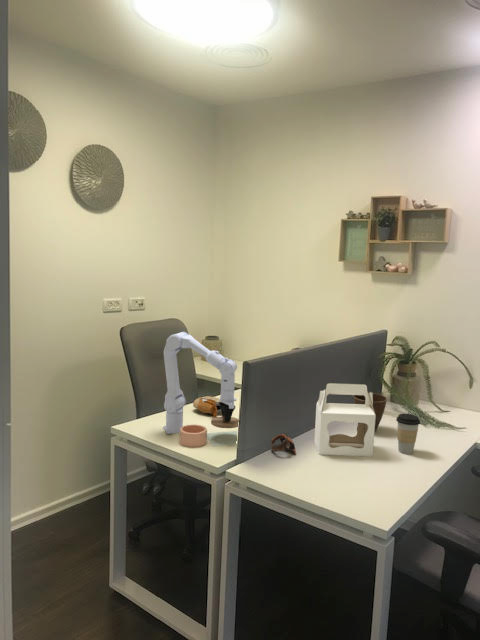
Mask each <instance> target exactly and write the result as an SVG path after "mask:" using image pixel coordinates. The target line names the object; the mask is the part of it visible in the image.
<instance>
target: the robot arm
mask: <svg viewBox="0 0 480 640" xmlns="http://www.w3.org/2000/svg"><path fill="white" fill-rule="evenodd" d="M165 342H166V343H165V345H164V349H163V360H164V361H163V362H164V368H165V369H164V370H165V377H166V379H165V380H166V387H167V388H166V389H167V392H166V393H165V395H164V403H163V408H164V410H165V411H166V413H165V425H164V426H163V428H164V430H165V432H166V434H167V435H170V434H172V435H173V434H177V433H179V434H180V428H181V427H182V426H184V407H185V405H186V403H187V400H186V397H185V395H184V392H183V390H182V389H181V387H180V386H181V385H180V380H179V379H180V376H179V369H178V368H179V367H178V357H177V354H178V353H179V351H180V350H181V349H192V350H193V351H194V352H196V353H198V354H200V355H201V356H203V357H204V358H205V360H206V362H207V363H209V364H210V365H211V366H213V367H214V368H216V369H217V370H219V373H220V377H221V378H220V398H219V399H220V401H221V402H219V405H220V408H221V412H220V413H221V417H223V415H224V419H225V422H230V420H231V417H232V416H233V413H234V411H235V410H236V405H235V402H236V401H237V398H236V397H235V378H236V377H235V376H236V371H237V369H238V365H237V362H236V361H234V360H233V359H229V358H228V357H226V356H223V355H222V354H221V353H220V351H218V350H210V349H209V348H207V347H206V346H204V345H203V344H202V343H201V342H199V341H198V340H197V339H195V337H194V336H193V335H191V334H189V333H187V332H186V331H181V332H178V333H174V334H171V335H170V336H168V337H167V339H166V341H165Z"/></svg>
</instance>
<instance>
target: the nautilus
mask: <svg viewBox="0 0 480 640" xmlns="http://www.w3.org/2000/svg"><path fill="white" fill-rule="evenodd" d="M219 402H221V401H220V398H219V397H216V396H209V395H207V396H202V397H198V398H196V399H195V400H194V401H193V404H192V405H193V407H194V409H197V410H198V411H200V412H201V413H203V414H210V415H212V417H211V420H212V419H214V418H217V417H218V415H220V414H221V413H222V412H221V408H220V405H219Z"/></svg>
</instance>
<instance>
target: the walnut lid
mask: <svg viewBox="0 0 480 640" xmlns="http://www.w3.org/2000/svg"><path fill="white" fill-rule="evenodd" d="M239 420H240V419H239V418H237V417H232V416H231V420H230V422H225V419H224V415H223V417H222V416H217V418H216V417H214V418H213V419H212V418H211V419H210V423H211V425H212V426H213V427H216V428H220V429H235V428H238V422H239Z"/></svg>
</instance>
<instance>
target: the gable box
mask: <svg viewBox="0 0 480 640" xmlns="http://www.w3.org/2000/svg"><path fill="white" fill-rule="evenodd" d="M325 386H326V387H325V389H323V390H321V389H320V390H319V395H318V396H319V397H318V400H317V402H316V406H315V423H314V425H315V426H314V441H313V442H314V445H315V448H316V451H317V453H318V455H320V456H321V455H324V456H347V457H351V456H353V457H358V456H359V457H373V455H374V446H375V445H374V442H375V432H374V431H375V418H376V414H375V411H374V408H373V393H374V392H373V391H368V386H367V384H363V383H361V384H360V383H335V382H333V383H332V382H328V383H326V385H325ZM328 395H345V396H347V395H349V396H350V395H351V396H353V395H361V396H363V395H364V396H365V404H354V403H337V402H336V403H333V402H327V397H328ZM332 422H341V423H347V424H357V427H356V435H354V436H350V435H347V434H343V433H342V434H341V433H338V434H337V433H336V434H333V435H330V434H329V433H330V432H329V429H328V425H329V424H330V423H332Z"/></svg>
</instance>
